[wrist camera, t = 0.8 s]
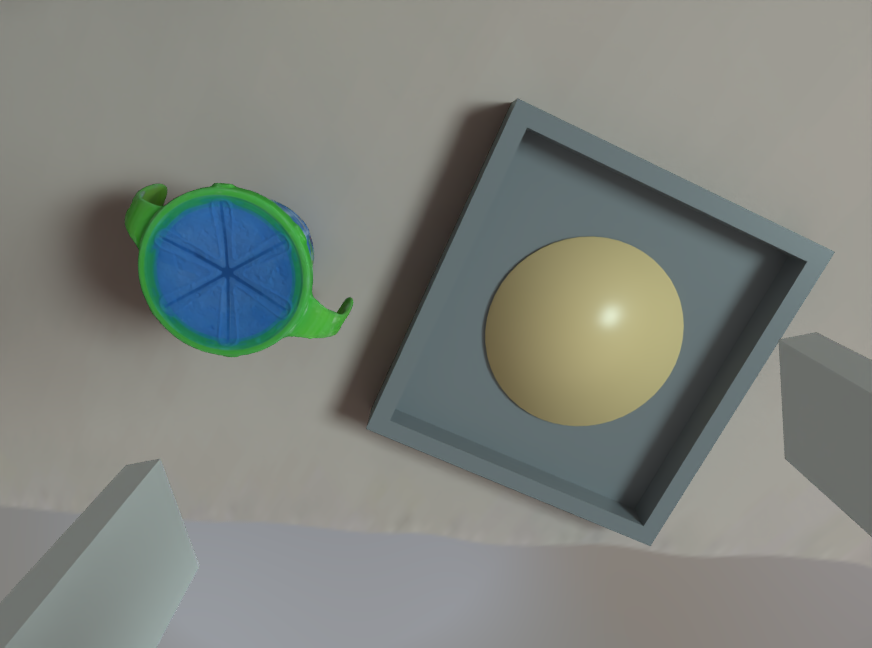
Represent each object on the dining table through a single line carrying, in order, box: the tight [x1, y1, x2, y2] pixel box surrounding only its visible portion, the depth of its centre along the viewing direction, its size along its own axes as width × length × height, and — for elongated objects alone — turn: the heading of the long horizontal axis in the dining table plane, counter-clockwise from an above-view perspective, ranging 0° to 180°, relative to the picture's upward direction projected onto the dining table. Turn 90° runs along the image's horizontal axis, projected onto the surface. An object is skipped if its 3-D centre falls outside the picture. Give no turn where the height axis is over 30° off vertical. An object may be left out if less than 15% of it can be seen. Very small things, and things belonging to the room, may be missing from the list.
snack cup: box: [125, 183, 353, 357], centre depth 32 cm, size 11×8×7 cm
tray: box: [366, 99, 835, 546], centre depth 35 cm, size 18×19×3 cm
